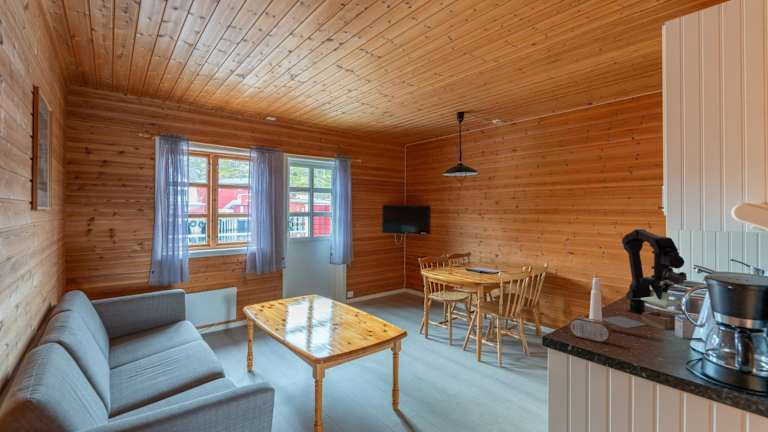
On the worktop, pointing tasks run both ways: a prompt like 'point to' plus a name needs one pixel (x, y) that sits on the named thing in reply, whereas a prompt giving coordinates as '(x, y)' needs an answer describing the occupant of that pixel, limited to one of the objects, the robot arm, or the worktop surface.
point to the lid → (661, 300)
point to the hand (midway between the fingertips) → (661, 298)
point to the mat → (623, 322)
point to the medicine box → (684, 326)
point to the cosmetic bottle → (595, 301)
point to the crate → (659, 319)
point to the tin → (590, 329)
